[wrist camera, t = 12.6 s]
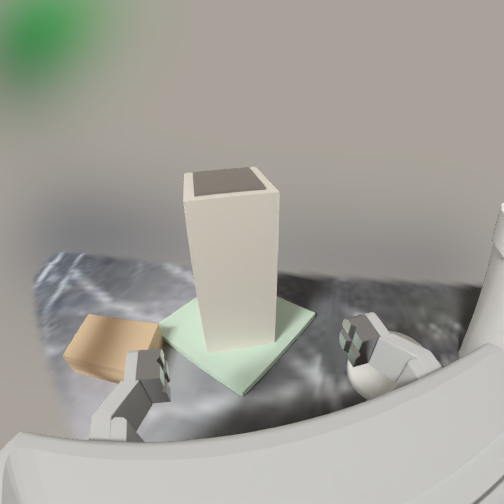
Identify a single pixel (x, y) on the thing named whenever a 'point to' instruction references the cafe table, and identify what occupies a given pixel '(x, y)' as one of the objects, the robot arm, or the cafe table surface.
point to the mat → (240, 360)
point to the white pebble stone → (372, 377)
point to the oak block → (109, 345)
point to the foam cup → (489, 299)
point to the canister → (233, 255)
